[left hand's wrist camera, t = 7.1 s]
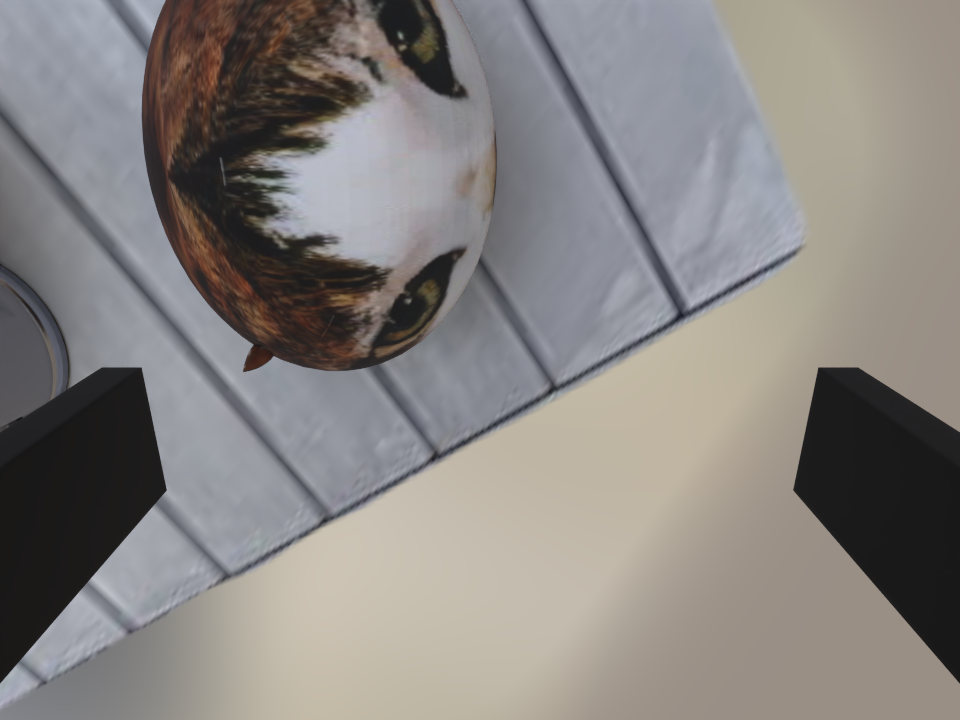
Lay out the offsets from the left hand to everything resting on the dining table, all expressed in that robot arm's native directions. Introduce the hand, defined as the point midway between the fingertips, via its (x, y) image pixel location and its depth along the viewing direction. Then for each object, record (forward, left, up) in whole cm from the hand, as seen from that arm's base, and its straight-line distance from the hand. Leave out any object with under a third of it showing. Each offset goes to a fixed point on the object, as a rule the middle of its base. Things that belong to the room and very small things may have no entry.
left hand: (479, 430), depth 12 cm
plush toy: (+4, +8, -32) cm, 33 cm away
